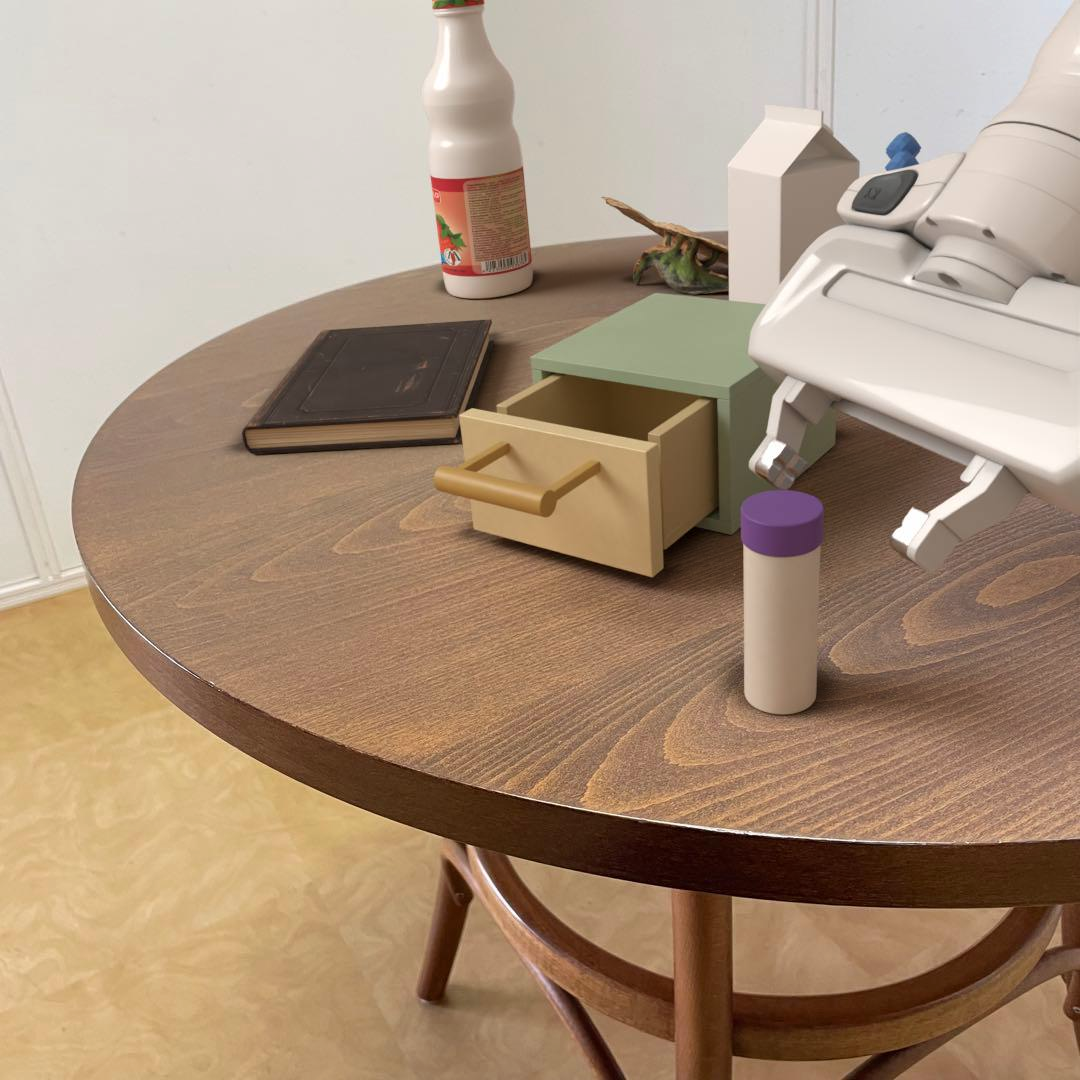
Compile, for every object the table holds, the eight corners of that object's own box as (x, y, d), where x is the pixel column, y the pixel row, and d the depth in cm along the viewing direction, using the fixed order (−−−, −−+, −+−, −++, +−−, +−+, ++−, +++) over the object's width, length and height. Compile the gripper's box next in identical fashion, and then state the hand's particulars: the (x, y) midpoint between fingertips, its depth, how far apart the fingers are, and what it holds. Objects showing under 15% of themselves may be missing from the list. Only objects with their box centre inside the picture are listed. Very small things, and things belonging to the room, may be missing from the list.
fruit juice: (522, 299, 114) (492, -8, 101) (433, 301, 116) (393, 1, 103) (543, 274, 122) (517, -13, 109) (460, 277, 124) (425, -5, 111)
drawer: (594, 627, 56) (584, 494, 53) (410, 570, 63) (391, 450, 60) (768, 481, 69) (768, 367, 66) (600, 447, 76) (592, 343, 73)
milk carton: (778, 374, 88) (781, 117, 79) (728, 351, 94) (726, 110, 85) (852, 356, 90) (863, 104, 82) (799, 334, 96) (804, 97, 87)
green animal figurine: (764, 333, 118) (796, 263, 115) (725, 341, 105) (761, 263, 102) (616, 263, 123) (644, 194, 120) (563, 263, 110) (592, 186, 107)
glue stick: (830, 685, 52) (837, 498, 47) (798, 725, 49) (802, 532, 45) (762, 665, 53) (763, 483, 49) (728, 702, 51) (726, 514, 47)
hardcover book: (494, 343, 102) (491, 318, 100) (460, 443, 81) (456, 413, 80) (321, 354, 103) (316, 330, 102) (245, 455, 83) (239, 426, 82)
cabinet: (731, 535, 65) (729, 386, 61) (542, 491, 73) (529, 356, 69) (835, 444, 75) (840, 311, 71) (660, 414, 83) (655, 292, 79)
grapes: (943, 265, 111) (953, 137, 106) (871, 266, 113) (877, 141, 108) (939, 236, 121) (948, 119, 116) (874, 238, 123) (879, 122, 118)
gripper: (1290, 348, 41) (1060, 656, 42) (896, 251, 58) (737, 473, 59) (1233, 246, 37) (982, 586, 38) (829, 174, 54) (661, 412, 55)
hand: (831, 517), depth 49 cm, fingers open, 8 cm apart
